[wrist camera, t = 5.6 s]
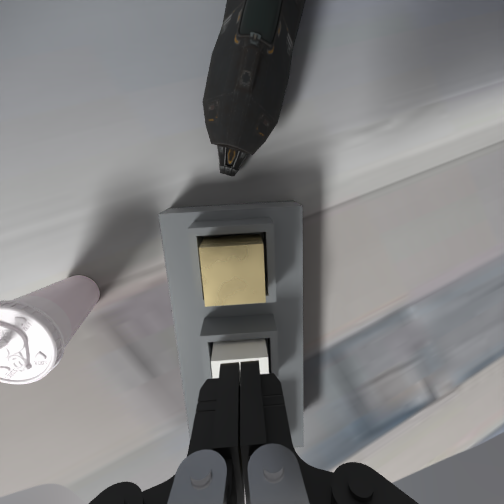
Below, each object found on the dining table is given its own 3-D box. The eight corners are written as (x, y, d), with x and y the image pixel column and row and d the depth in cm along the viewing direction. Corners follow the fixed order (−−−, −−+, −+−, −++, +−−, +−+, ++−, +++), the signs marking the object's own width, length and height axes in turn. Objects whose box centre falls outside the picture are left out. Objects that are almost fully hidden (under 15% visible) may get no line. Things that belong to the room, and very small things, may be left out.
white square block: (264, 334, 25) (268, 357, 22) (266, 376, 26) (270, 403, 23) (214, 338, 25) (210, 361, 22) (218, 380, 26) (215, 408, 23)
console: (293, 200, 28) (311, 210, 21) (296, 416, 35) (310, 474, 28) (169, 208, 28) (147, 220, 21) (197, 424, 35) (187, 485, 28)
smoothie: (93, 252, 28) (-37, 326, 15) (124, 307, 30) (34, 416, 17) (35, 276, 29) (-141, 368, 15) (70, 328, 31) (-62, 452, 17)
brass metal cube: (259, 234, 23) (263, 243, 20) (262, 285, 24) (265, 302, 21) (204, 237, 23) (198, 247, 20) (209, 289, 24) (204, 306, 21)
